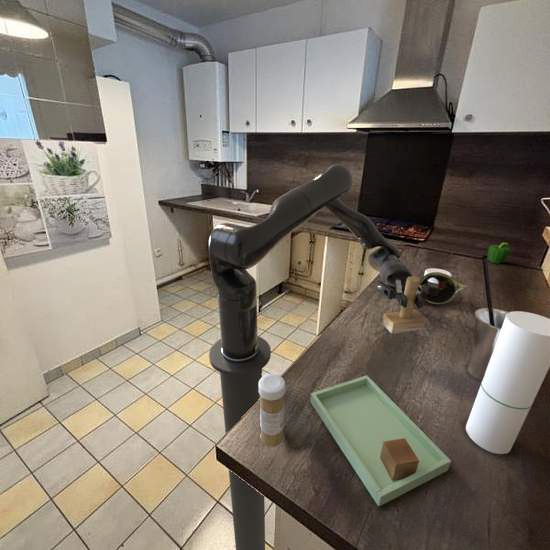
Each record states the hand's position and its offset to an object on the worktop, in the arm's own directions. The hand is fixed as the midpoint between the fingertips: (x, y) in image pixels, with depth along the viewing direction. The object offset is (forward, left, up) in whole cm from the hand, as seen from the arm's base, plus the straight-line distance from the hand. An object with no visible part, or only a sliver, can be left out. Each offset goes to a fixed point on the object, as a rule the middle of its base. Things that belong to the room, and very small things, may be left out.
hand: (412, 304), depth 69 cm
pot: (-22, +37, -16) cm, 45 cm away
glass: (+11, +14, -16) cm, 24 cm away
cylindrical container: (+23, -1, -16) cm, 29 cm away
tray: (+15, -21, -16) cm, 30 cm away
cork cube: (+22, -22, -15) cm, 35 cm away
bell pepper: (-39, +97, -16) cm, 105 cm away
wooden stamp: (-3, +2, -9) cm, 9 cm away
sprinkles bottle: (+8, -39, -16) cm, 43 cm away
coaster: (-34, +52, -16) cm, 64 cm away
